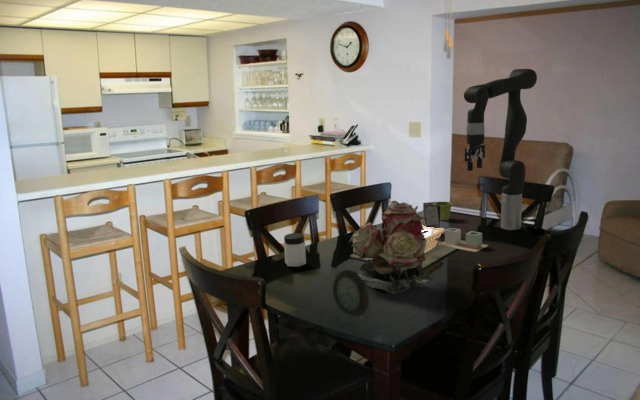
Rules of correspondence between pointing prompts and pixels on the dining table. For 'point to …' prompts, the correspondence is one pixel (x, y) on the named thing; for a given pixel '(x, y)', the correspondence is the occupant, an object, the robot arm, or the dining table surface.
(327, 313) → the dining table surface
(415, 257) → the rose bouquet
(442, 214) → the plant pot
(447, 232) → the grey sleeve
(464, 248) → the pin board
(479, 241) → the sage sleeve
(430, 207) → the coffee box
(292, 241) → the jar
